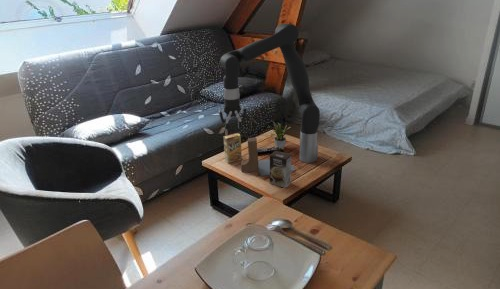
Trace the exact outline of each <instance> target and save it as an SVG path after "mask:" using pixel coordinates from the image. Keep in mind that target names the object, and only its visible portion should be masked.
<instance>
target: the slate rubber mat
mask: <svg viewBox="0 0 500 289" xmlns="http://www.w3.org/2000/svg"><path fill="white" fill-rule="evenodd" d="M258 166H259V171H258V173H259V174H260V176H261V177H266V176H270V158H268V159H263V160H258ZM291 172H296V169H295V167H294V165H293V164H292V163H291Z"/></svg>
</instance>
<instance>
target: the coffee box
mask: <svg viewBox="0 0 500 289" xmlns="http://www.w3.org/2000/svg"><path fill="white" fill-rule="evenodd" d="M292 156H293V155H292V154H291V153H288V152H283V151H281V150H277V149H276V150H274V151H273V152H272V153H271V154H269V159H270V175H269V184H271V185H275V186H278V187H281V188H284V189H286V188H287V187H288V186H289V185H290V184H291V179H292V178H291V177H292V175H291V174H292V173H291V172H292V171H291V164H292Z"/></svg>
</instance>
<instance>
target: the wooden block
mask: <svg viewBox="0 0 500 289" xmlns="http://www.w3.org/2000/svg"><path fill="white" fill-rule="evenodd" d="M257 140H258V139H257V137H248V138H247V150H248V158H247V159H246V160H242V161H241V163H240V167H241V173H250V172H251V173H254V172H259V166H258V161H259V153H258V141H257Z"/></svg>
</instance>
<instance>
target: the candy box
mask: <svg viewBox="0 0 500 289" xmlns="http://www.w3.org/2000/svg"><path fill="white" fill-rule="evenodd" d="M223 151H224V159H225V160H224V161H226V162H227V163H228V164H230V163H233V162H237V161H241V160H242V161H243V158H242V157H243V155H242V138H241V134H240V133H239V132H236V133H230V134H227V135H223Z"/></svg>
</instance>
